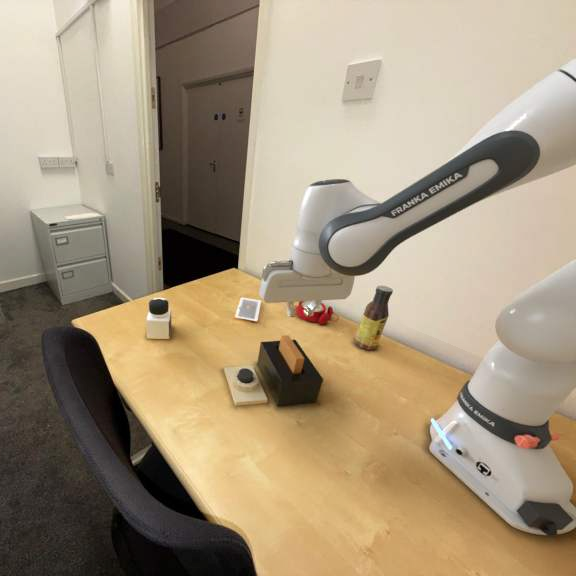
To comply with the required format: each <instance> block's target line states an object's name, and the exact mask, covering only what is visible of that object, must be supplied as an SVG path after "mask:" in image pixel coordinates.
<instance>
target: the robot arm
mask: <svg viewBox="0 0 576 576" xmlns="http://www.w3.org/2000/svg"><path fill="white" fill-rule="evenodd" d="M575 165H576V57H575V58H573V59H571V60H570V61H569V62H567V63H565V64H564V65H562V66H560V67H559V68H557V69H556V70H554V71H553V72H551V73H550V74H548V75H547V76H546V77H544V78H543V79H541V80H540V81H538V82H537V83H536V84H534V85H532V87H529V89H527V90H526V91H525V92H523V93H522V94H520V95H519V96H518V97H516V98H515V99H514V100H513V101H512V102H510V103H509V104H508V105H507V106H505V107H504V108H503V109H502V110H500V112H498V113H497V114H496V115H494V116H493V117H492V118H491V119H490V120H489V121H488V122H487V123H486V124H484V125H483V127H481V128H480V130H478V131H477V133H476V134H475V135H473V136H472V138H471V139H470V140H468V142H467V143H466V144H465V145H463V147H462V148H461V149H459V150H458V151H457V152H456V153H454V155H453V156H452V157H450V158H449V159H448V160H447V161H445V162H444V163H442V164H441V165H440V166H439V167H437V168H435V169H434V170H433V171H431V172H430V173H428V174H426V175H424V176H423V177H421V178H420V179H418V180H417V181H415V182H413V183H412V184H411V185H409V186H407V187H406V188H404V189H402V190H401V191H399V192H397V193H395V194H394V195H392V196H391V197H390V198H387V199H386V200H385V201H383V202H381V201H378V200H377V199H374V198H372V197H370V196H369V195H366V193H363V192H362V191H361V190H360V189H358V188H357V187H356V186H355V185H354V184H353V182H352V181H351V180H348V179H345V178H333V179H326V180H318V181H316V182H312V183H311V184H310V185H309V186H307V187H306V189H305V191H304V193H303V196H302V199H301V202H300V206H299V209H298V214H297V218H296V225H295V226H296V234H295V236H294V239H293V241H292V244H291V250H290V255H289V260H280V261H278V260H273V261H272V260H271V261H270V263H267V264H266V265H265V266H264V267H263V268H262V274H261V276H262V278H261V282H260V284H259V289H258V295H259V297H260V299H262V301H263V302H264V303H266V304H277V303H278V304H279V303H281V304H282V303H284V304H285V306H286V316H287V317H288V318H296V316H297V314H296V312H297V311H296V308H295V307H294V306H295V303H296V302H298V303H299V302H300V301H312V302H311V303H310V304H309V306H306V307H305V308H304V309H305V310H304V314H305V315H306V316H313V313H314V310H315V309H316V308H317V307H318V306H319V305H320V304H321V303H322V301H335V300H336V301H337V300H339V301H340V300H347V298H349V297H350V296H351V294H352V291H353V287H354V284H355V278H356V277H358V276H359V277H360V276H364V275H367V274H370V273H371V272H374V271H375V270H376V269H378V267H380V265H382V264H383V262H384V261H385V260H386V259H387V258H388V256H390V254H391V253H392V252H393V250H395V248H397V247H398V246H400V245H401V244H403V243H404V242H406V241H407V240H409V239H411V238H412V237H414V236H416V235H417V234H420V233H422V232H424V231H426V230H427V229H430V228H431V227H433V226H435V225H437V224H439V223H440V222H443V221H444V220H446V219H448V218H451V217H452V216H454V215H456V214H457V213H460V212H461V211H463V210H465V209H467V208H469V207H471V206H473V205H475V204H477V203H479V202H482V201H484V200H487V199H489V198H491V197H493V196H496V195H499V194H502V193H504V192H507V191H510V190H512V189H515V188H518V187H520V186H524V185H526V184H529V183H532V182H535V181H537V180H539V179H543V178H545V177H548V176H551V175H553V174H555V173H559V172H561V171H564V170H566V169H568V168H571V167H573V166H575ZM292 305H293V307H292ZM494 324H495V325H494V326H495V333H496V336H497V338H498V339H499V340H498V341H497V342H496V343H495V344H494V345H493V346H492V347H491V348H490V349H489V350H488V352H487V353H486V354H485V356H484V358H483V360H481V362H480V364H479V366H478V367H477V369H476V370H475V372H474V374H473V375H472V377H471V378H470V379H469V380H467V381H466V382H465V383H464V384H463V386H462V388H461V389H460V390H459V392H458V394H457V396H456V401H455V402H454V403H453V404H452V406H450V408H448V410H447V411H446V412H445V413H444V414H443V415H441V416H440V417H439V418H437V419H436V420H435V419H434V418H431V419H430V422H431V424H430V426H429V434H430V438H431V442H430V444H429V446H428V450H429V452H430V453H431V454H432V455H433V456H434V457H435V458H436V459H437V460H438V461H439V462H440V463H441V464H442V465H444V466H445V467H446V468H447V469H448V470H449V471H450V472H451V473H453V475H455V477H456V478H458V479H459V480H460V481H461V482H462V483H463V484H464V485H466V486H467V487H468V488H469V489H470V490H471V491H472V492H473V493H474V494H476V496H478V497H479V498H480V499H481V501H483V502H484V503H485V504H486V505H487V506H488V507H490V509H491V510H493V511H494V512H495V513H496V514H497V515H498V516H499V517H501V519H503V520H504V521H505V523H507V524H508V525H510V526H511V527H512V528H514V529H516V530H519V531H522V532H525V533H528V534H530V535H531V534H533V535H537V536H550V537H556V536H558V535H562V534H567V533H569V532H571V531H573V530H574V529H576V506H575V505H574V504H573V503H572V502H571V501H570V500H571V498H572V495H573V494H574V484H573V481H572V480H571V478H570V477H569V476H568V474H567V473H566V470H565V468H563V466H562V463H560V461H559V459H558V457H557V456H556V454H555V453H554V451H553V449H552V448H551V446H550V445H549V444H550V443H551V442H552V441H553V442H554V441H558V440H559V439H560V438H561V437H562V436H563V434H562V433H556V434H551V432H550V418H551V417H552V416H553V415H554V414H555V413H556V411H557V410H558V409H559V408H560V407H561V405H562V404H563V403H564V402H565V401H566V400H567V399H568V397H569V396H570V395H571V394H572V392H574V391H575V390H576V258H574V259H573V260H571V261H570V262H568V263H567V264H565V265H563V266H562V267H560V268H559V269H556V270H555V271H554V272H552V273H551V274H549V275H547V276H546V277H545V278H543V279H541V280H540V281H538V282H537V283H534V284H533V285H531V286H530V287H528V288H527V289H525V290H524V291H523V292H521V293H519V294H518V295H517V296H514V298H512V299H511V300H509V302H508V303H506V305H505V306H504V307H503V308H502V309H501V311H500V312H499V314H498V315H497V318H496V320H495V323H494Z"/></svg>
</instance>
